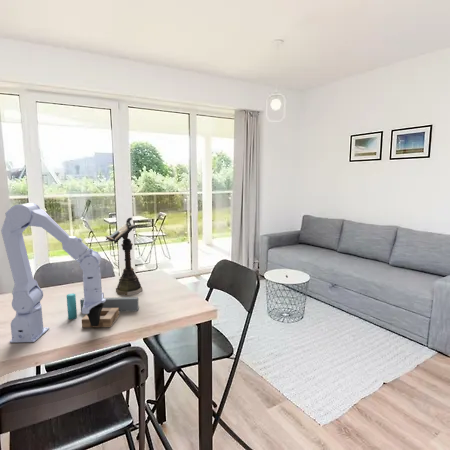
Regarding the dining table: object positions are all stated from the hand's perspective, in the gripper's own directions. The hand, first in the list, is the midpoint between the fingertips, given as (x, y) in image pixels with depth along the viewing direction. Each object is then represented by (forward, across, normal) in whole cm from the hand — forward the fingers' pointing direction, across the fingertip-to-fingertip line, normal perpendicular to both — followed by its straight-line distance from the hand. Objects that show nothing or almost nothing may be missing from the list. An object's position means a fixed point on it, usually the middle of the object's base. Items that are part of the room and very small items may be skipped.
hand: (95, 325), depth 111 cm
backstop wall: (+1, +17, 0) cm, 17 cm away
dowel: (+1, +10, +12) cm, 15 cm away
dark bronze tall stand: (+2, +37, 0) cm, 37 cm away
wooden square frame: (+1, +6, 0) cm, 6 cm away
